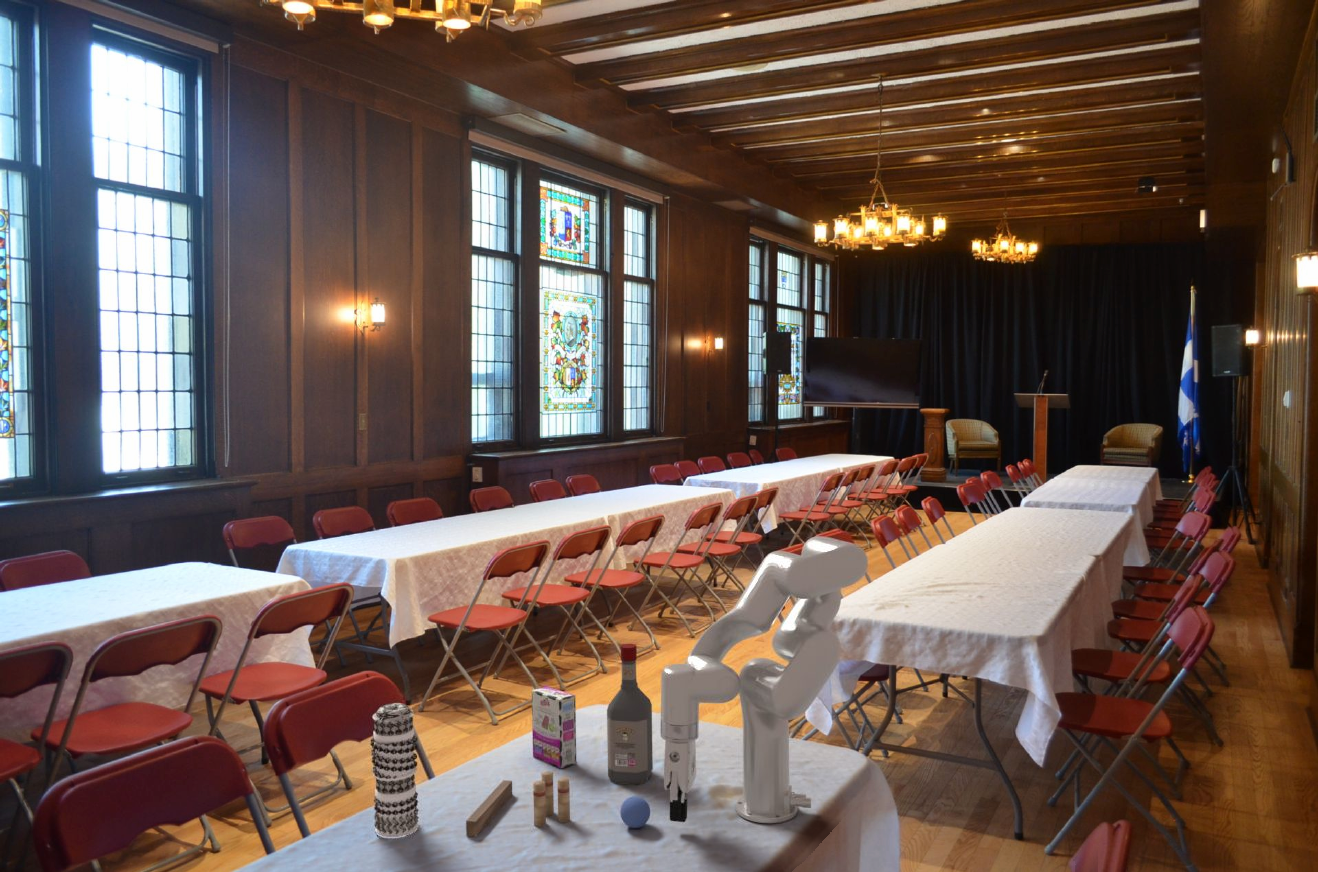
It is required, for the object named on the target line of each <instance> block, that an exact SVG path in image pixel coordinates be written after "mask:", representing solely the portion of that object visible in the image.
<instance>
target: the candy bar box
mask: <svg viewBox="0 0 1318 872" xmlns="http://www.w3.org/2000/svg"><path fill="white" fill-rule="evenodd" d="M576 708H577V707H576V695H575V694H572V693H569V692H566V691H562V690H560V689H558V688H557V689H556V688H553V687H550V686H549V685H547V686H542V687H539V688H535V689H532V690H531V718H532V719H531V721H532V724H531V725H532V726H531V727H532V757H533V758H535V759H537V760H538V761H542V762H544V763H547V764H549V765H551V766H553V767H554V766H555V767H556V768H559V769H565V768H567V767H571V766H574V765H575V764H577V728H576V727H577V725H576V724H577V715H576V714H577V713H576V710H577V709H576Z"/></svg>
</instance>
